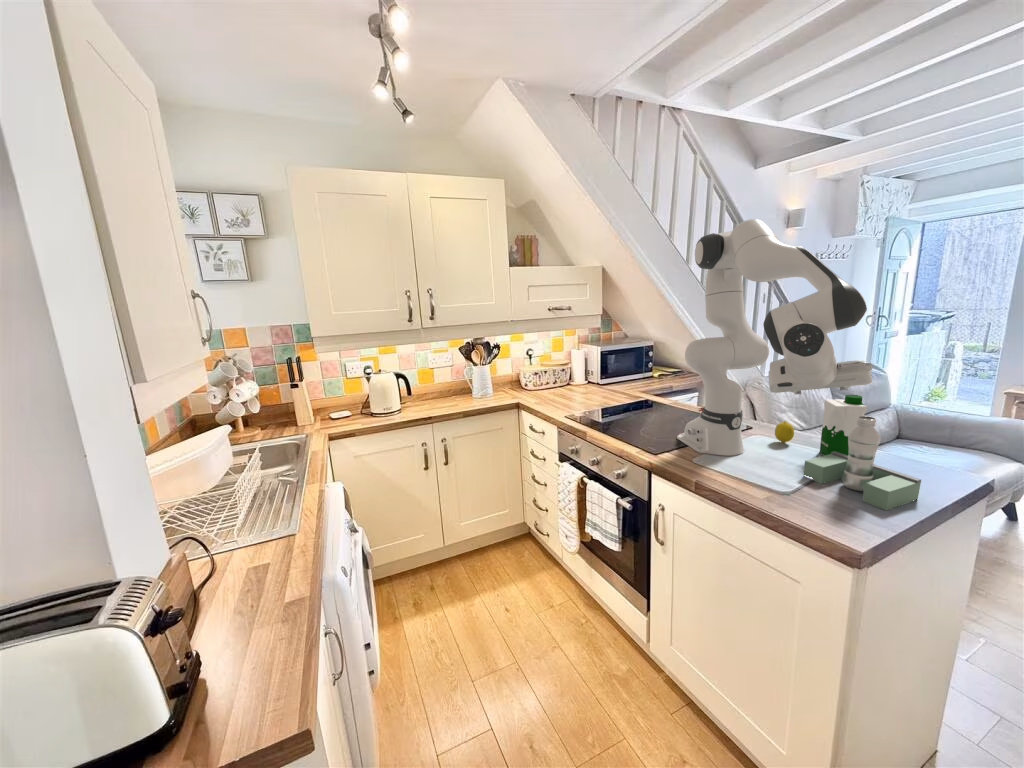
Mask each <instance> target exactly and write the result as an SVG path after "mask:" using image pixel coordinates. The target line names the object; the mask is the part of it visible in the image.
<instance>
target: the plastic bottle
mask: <svg viewBox="0 0 1024 768" xmlns="http://www.w3.org/2000/svg"><path fill="white" fill-rule="evenodd" d="M856 424H858V425H857V426H856V427H855V428H853V429H852V430H851V431H850V432H849V434H848V445H849V450H848V460H847V464H846V467H845V470H844V472H843V475H842V478H841V480H842V483H843V485H844V486H845V487H846V488H849V489H851V490H854V491H857V492H858V491H859V492H864V487H865V483H866V482H870V481H873V480H874V476H873V465H874V464H875V458H876V455H877V451H878V447H880V446H879V445H880V442H881V435H880V434H879V432H878V430H876V429H875V427H877V418H876V417H873V416H869V415H864V416H858V419H857V422H856Z"/></svg>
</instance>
